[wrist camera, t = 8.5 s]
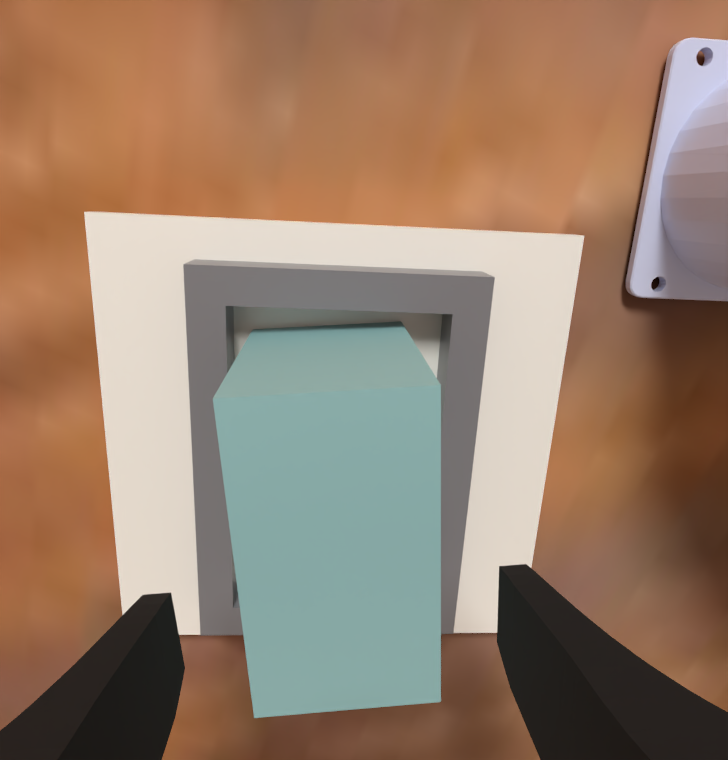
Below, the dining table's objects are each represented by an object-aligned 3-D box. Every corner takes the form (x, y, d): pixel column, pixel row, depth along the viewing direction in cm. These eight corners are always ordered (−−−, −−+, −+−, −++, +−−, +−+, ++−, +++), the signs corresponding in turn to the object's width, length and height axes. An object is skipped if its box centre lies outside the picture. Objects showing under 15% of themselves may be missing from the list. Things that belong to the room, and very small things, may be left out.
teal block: (406, 549, 22) (440, 701, 15) (276, 559, 22) (254, 717, 15) (401, 321, 19) (440, 384, 12) (252, 329, 19) (212, 398, 12)
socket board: (574, 234, 19) (605, 238, 17) (514, 619, 24) (533, 660, 22) (94, 211, 18) (62, 212, 16) (131, 620, 23) (110, 664, 21)
